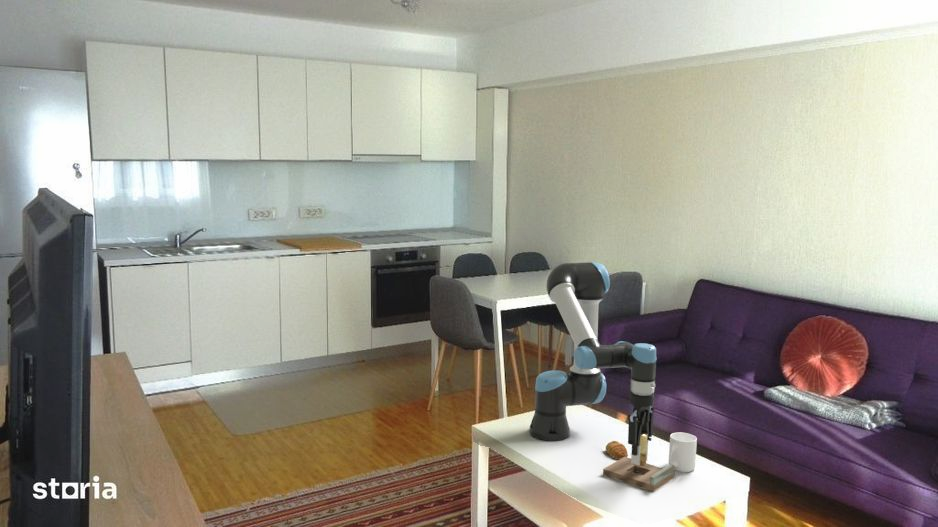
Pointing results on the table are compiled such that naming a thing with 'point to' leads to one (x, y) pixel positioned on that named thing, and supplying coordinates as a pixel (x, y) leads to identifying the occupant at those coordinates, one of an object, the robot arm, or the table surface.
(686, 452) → the mug
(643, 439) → the brass cylinder rod
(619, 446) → the pastry
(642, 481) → the jig
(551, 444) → the table surface
